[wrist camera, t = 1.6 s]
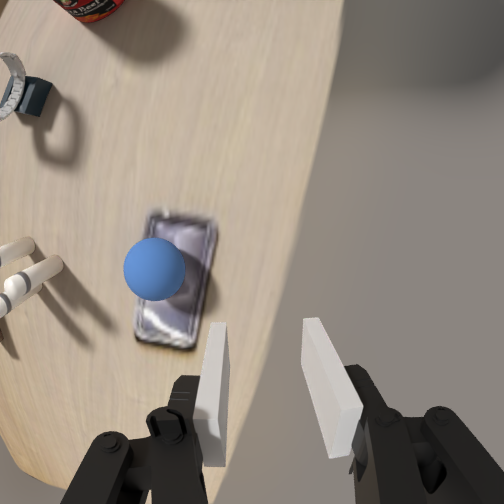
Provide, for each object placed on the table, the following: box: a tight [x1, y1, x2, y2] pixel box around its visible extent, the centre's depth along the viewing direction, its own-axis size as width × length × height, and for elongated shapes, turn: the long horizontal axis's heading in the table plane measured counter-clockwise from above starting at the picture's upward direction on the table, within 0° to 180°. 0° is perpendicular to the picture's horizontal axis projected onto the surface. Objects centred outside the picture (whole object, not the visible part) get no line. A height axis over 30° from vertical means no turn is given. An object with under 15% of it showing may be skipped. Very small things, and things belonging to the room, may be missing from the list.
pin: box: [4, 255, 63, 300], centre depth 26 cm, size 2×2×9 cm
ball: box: [124, 238, 185, 301], centre depth 27 cm, size 6×6×6 cm
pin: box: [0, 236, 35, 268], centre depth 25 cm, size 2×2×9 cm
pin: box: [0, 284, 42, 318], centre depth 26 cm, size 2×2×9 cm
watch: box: [0, 52, 52, 121], centre depth 19 cm, size 6×8×11 cm
